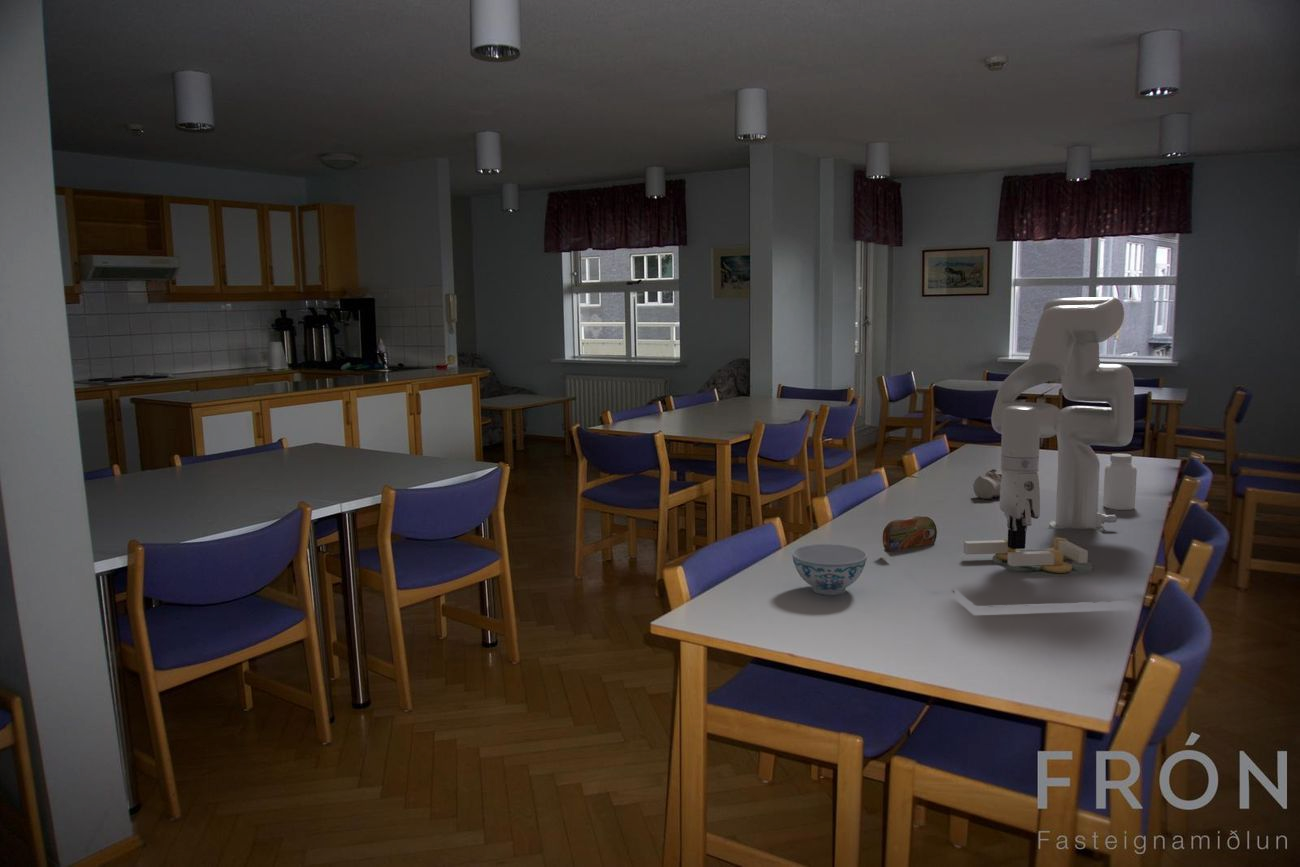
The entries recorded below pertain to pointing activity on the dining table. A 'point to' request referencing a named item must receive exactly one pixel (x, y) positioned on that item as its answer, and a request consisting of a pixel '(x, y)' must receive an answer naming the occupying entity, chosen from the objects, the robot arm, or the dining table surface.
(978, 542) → the knob left
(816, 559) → the chinaware
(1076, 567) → the level base
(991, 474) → the ceramic sculpture
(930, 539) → the tin
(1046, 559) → the knob front
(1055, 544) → the knob right
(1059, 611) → the dining table surface
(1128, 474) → the pill bottle
